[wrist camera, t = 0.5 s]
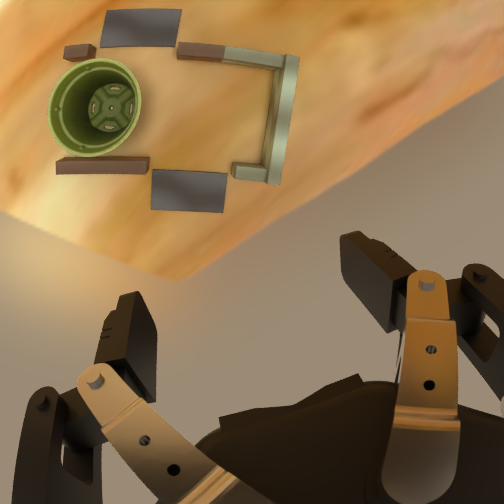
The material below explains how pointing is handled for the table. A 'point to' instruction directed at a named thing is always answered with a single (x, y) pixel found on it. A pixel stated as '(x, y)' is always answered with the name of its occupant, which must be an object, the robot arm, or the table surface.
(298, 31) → the table surface
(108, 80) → the plant pot
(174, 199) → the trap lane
